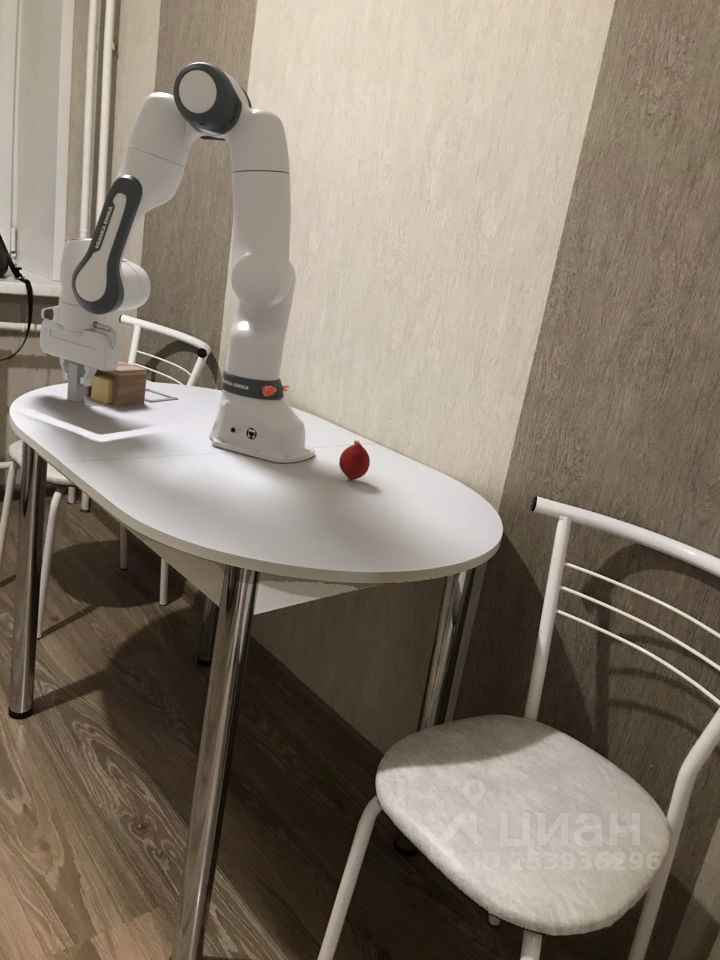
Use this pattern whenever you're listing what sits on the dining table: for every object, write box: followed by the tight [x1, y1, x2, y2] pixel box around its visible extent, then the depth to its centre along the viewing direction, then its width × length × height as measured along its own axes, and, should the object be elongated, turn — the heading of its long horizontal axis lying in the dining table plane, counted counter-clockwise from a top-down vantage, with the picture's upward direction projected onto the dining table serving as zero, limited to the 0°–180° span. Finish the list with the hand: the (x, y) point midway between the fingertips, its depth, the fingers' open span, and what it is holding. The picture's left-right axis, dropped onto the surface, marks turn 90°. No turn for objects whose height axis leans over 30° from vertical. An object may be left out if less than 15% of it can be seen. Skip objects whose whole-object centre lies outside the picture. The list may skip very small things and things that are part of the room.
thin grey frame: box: [144, 388, 179, 403], centre depth 175 cm, size 10×9×2 cm
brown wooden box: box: [85, 360, 148, 407], centre depth 165 cm, size 10×8×9 cm
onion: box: [338, 440, 371, 482], centre depth 141 cm, size 6×6×8 cm
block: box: [90, 375, 116, 403], centre depth 163 cm, size 5×5×5 cm
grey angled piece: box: [66, 361, 114, 408], centre depth 163 cm, size 6×15×9 cm, turn 150°
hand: (77, 382), depth 158 cm, fingers open, 4 cm apart
